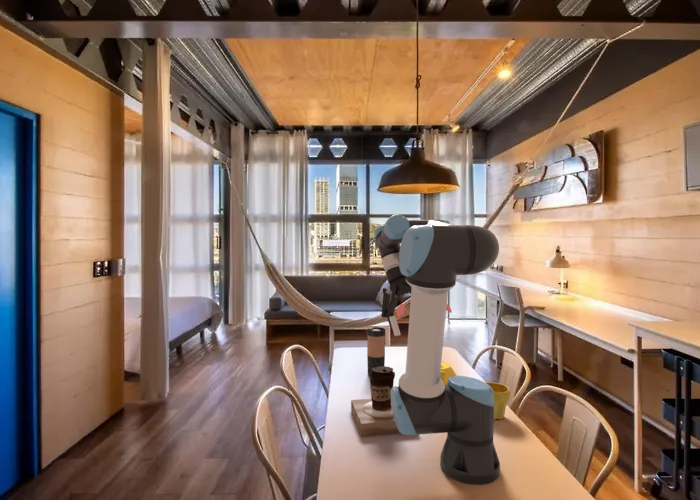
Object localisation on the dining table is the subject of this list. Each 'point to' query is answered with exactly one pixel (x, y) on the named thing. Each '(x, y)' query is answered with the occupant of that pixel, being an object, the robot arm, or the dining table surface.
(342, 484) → the dining table surface
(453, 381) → the robot arm
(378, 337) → the travel mug
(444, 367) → the teapot
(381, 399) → the coffee cup
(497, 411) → the plant pot
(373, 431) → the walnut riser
